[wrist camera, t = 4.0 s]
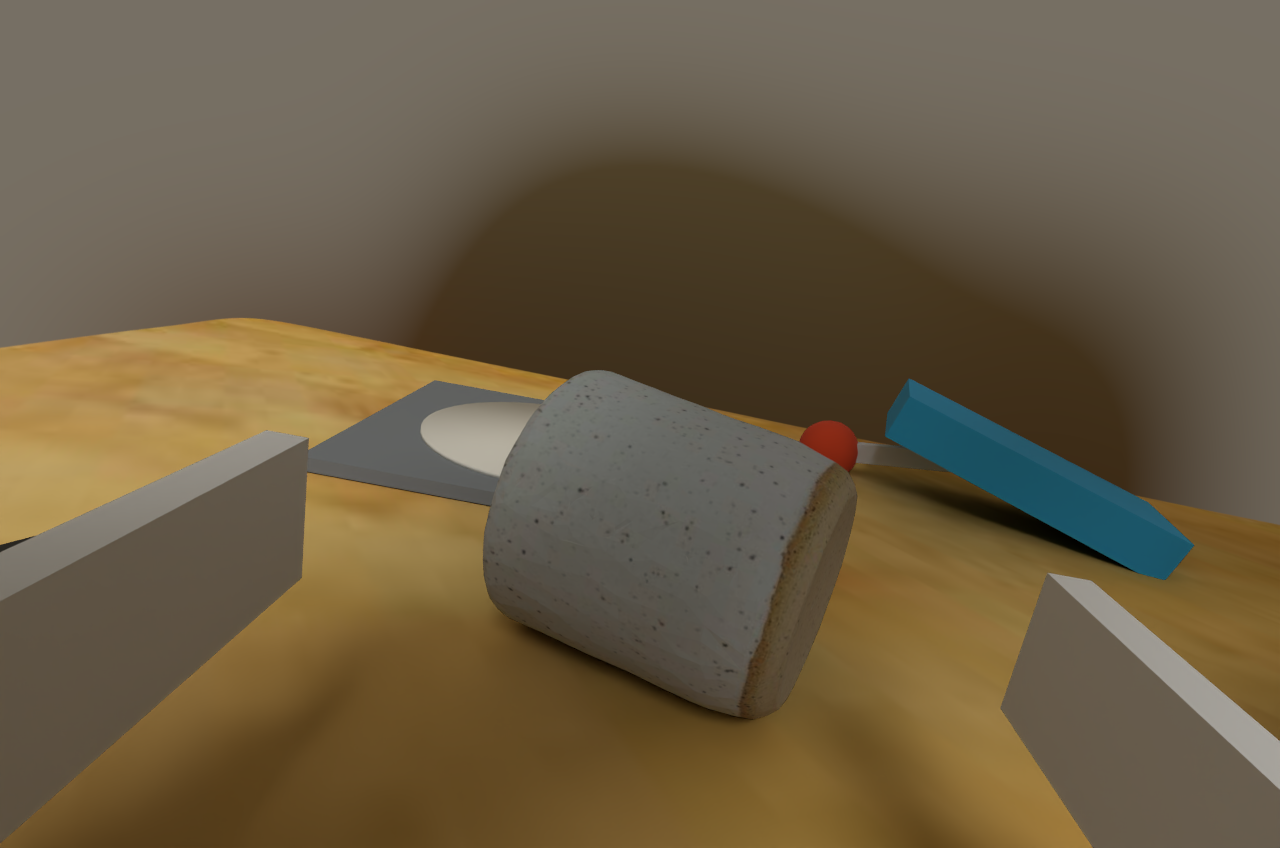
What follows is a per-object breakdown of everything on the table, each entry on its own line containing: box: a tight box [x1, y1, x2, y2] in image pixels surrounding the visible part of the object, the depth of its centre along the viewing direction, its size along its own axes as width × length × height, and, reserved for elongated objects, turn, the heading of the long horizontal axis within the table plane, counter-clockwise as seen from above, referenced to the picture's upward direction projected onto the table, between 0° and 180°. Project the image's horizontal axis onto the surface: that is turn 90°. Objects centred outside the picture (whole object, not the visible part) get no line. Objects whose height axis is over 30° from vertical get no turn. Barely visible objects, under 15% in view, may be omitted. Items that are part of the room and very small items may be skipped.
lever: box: [800, 379, 1194, 580], centre depth 40 cm, size 7×7×18 cm
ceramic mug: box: [483, 370, 857, 719], centre depth 21 cm, size 11×8×8 cm
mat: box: [307, 381, 544, 506], centre depth 37 cm, size 18×16×1 cm
